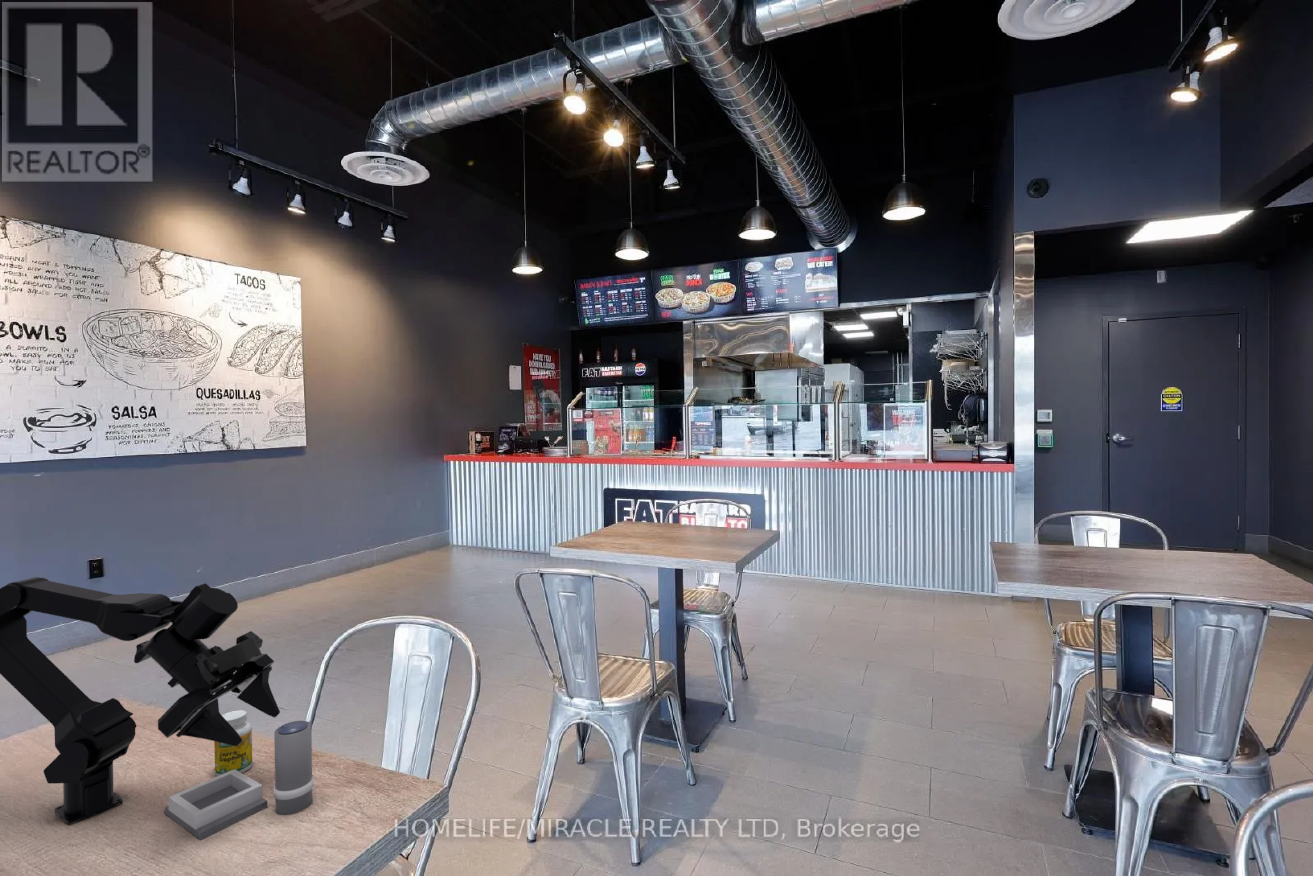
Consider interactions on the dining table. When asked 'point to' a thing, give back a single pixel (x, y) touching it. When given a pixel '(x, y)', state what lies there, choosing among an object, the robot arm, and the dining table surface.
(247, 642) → the robot arm
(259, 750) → the dining table surface
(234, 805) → the grey white tray
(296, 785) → the lens
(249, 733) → the supplement bottle
